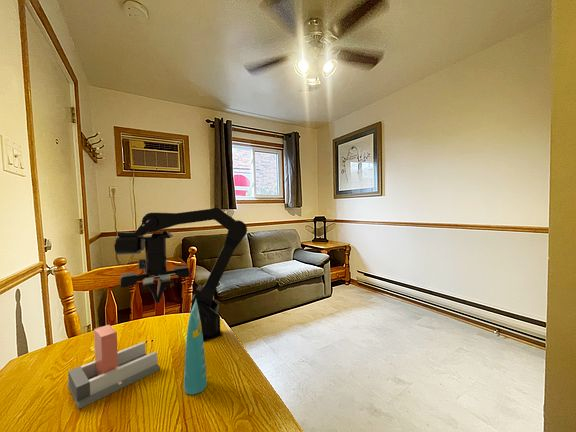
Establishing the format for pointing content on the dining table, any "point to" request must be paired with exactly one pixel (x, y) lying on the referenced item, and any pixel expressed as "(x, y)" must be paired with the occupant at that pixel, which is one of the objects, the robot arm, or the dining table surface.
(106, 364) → the plug
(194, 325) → the tube
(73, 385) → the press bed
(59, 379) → the dining table surface
